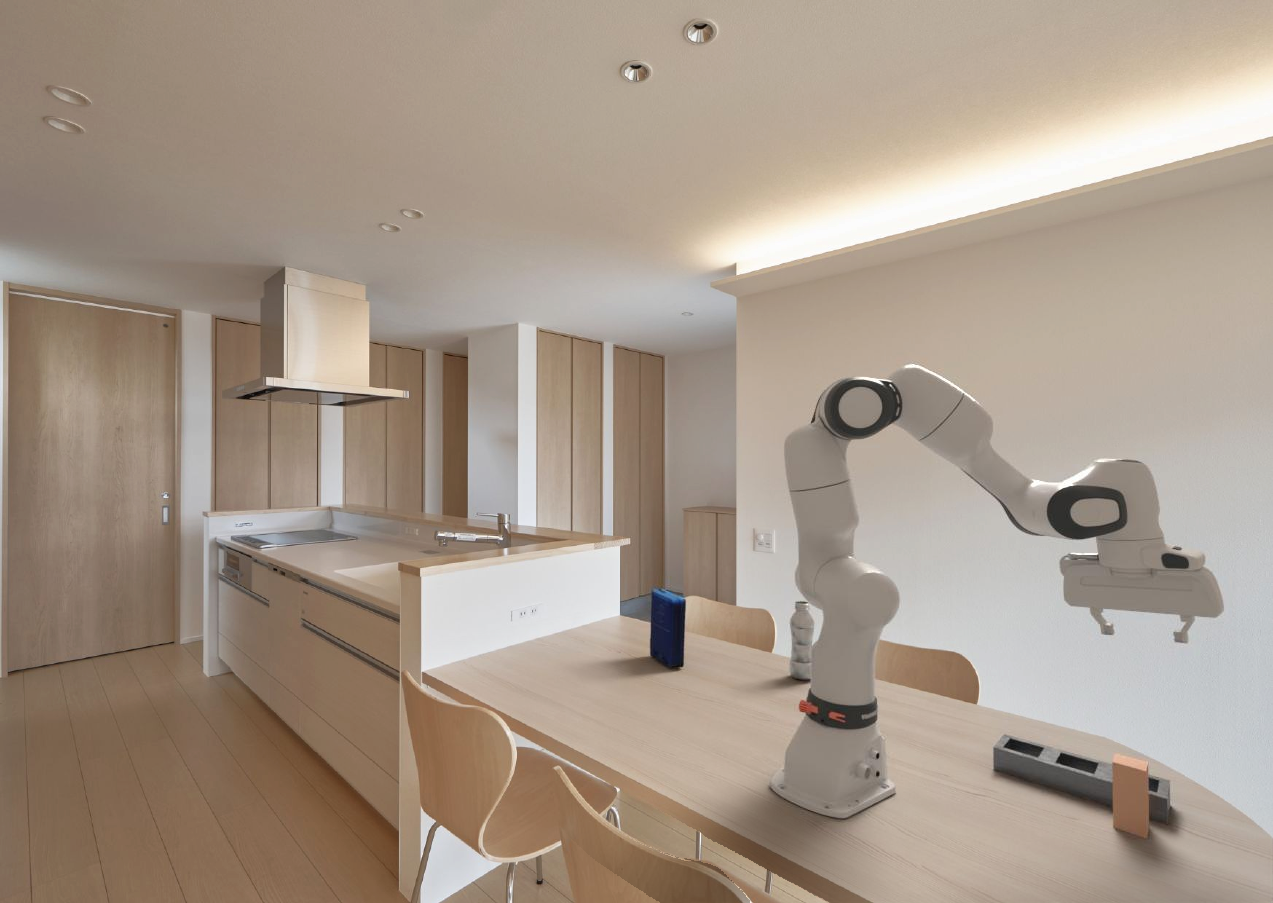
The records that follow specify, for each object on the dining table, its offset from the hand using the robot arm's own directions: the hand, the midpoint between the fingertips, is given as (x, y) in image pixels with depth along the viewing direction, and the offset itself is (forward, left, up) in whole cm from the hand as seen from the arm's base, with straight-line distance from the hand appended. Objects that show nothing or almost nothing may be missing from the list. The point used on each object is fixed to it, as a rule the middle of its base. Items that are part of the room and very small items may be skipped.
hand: (1143, 638), depth 97 cm
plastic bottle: (+15, +70, -28) cm, 77 cm away
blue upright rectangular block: (-2, +103, -28) cm, 107 cm away
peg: (-8, +1, -28) cm, 29 cm away
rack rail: (+1, +9, -28) cm, 29 cm away
